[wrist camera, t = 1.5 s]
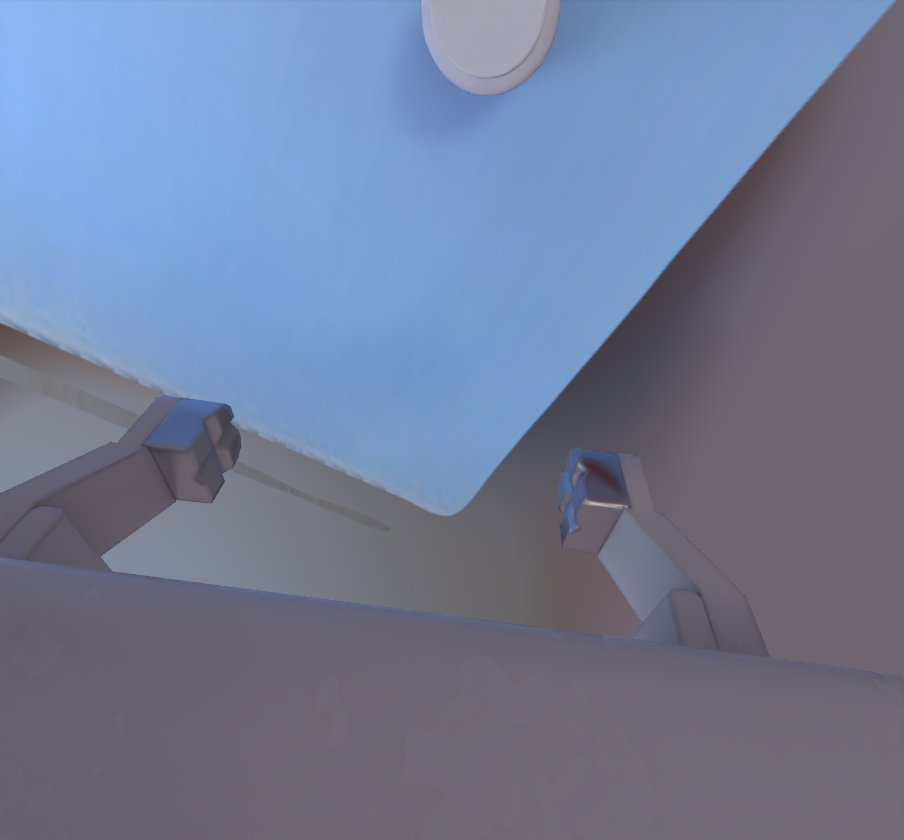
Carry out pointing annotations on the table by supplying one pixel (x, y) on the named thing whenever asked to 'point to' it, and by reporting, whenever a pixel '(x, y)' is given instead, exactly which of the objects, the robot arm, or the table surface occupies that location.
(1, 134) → the table surface
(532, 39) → the pill bottle
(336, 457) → the table surface
